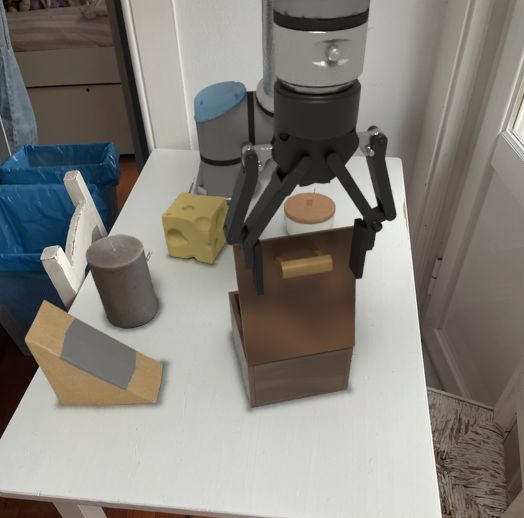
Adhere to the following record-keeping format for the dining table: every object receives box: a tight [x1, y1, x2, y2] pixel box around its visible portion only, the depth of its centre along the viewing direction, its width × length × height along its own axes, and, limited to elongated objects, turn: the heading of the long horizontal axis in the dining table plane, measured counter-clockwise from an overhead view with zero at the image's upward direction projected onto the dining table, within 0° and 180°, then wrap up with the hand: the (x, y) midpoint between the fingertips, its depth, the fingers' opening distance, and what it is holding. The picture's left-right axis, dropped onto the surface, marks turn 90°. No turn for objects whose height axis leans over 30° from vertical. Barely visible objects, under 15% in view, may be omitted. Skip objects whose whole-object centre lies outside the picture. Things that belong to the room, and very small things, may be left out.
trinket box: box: [283, 192, 337, 235], centre depth 102 cm, size 11×11×9 cm
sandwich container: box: [24, 299, 164, 406], centre depth 73 cm, size 9×15×15 cm, turn 90°
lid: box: [232, 225, 357, 366], centre depth 62 cm, size 17×16×6 cm
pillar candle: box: [85, 233, 159, 329], centre depth 86 cm, size 10×10×15 cm
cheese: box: [161, 191, 229, 265], centre depth 101 cm, size 10×11×10 cm
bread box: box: [227, 290, 355, 409], centre depth 78 cm, size 17×16×10 cm
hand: (307, 279), depth 57 cm, fingers open, 11 cm apart
